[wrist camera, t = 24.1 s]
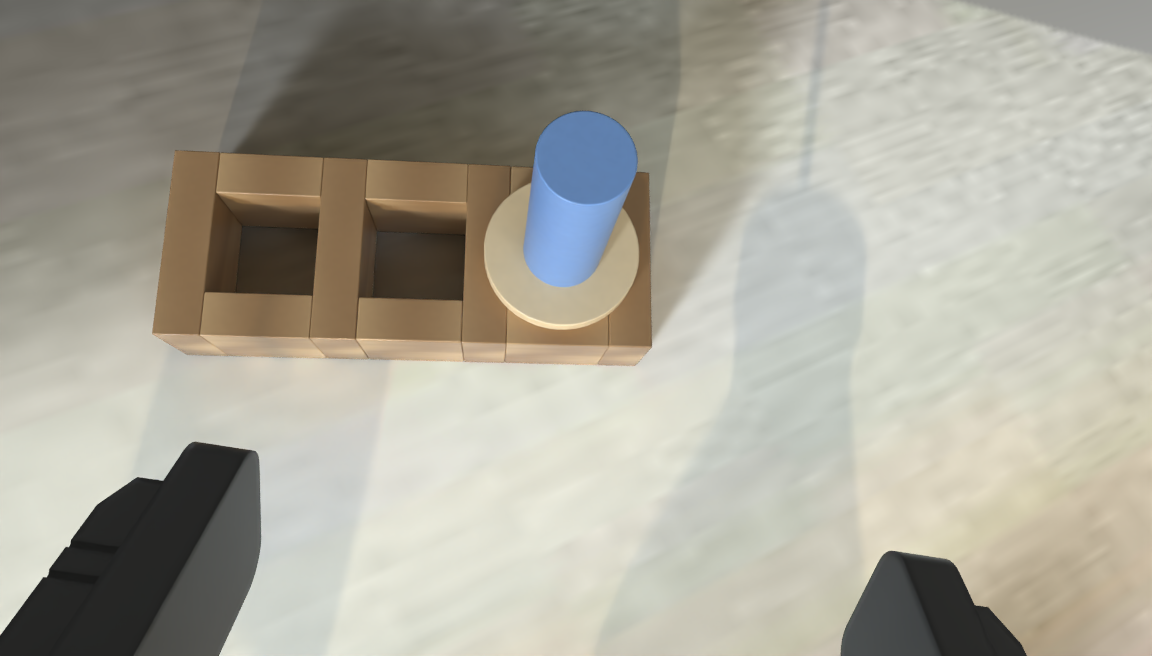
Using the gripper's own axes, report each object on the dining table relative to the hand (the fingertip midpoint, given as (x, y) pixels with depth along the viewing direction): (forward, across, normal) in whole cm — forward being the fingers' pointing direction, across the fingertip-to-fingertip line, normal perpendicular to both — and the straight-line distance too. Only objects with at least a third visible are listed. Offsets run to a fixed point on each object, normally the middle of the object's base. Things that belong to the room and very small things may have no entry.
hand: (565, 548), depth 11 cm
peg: (+27, 0, +10) cm, 28 cm away
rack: (+26, +6, +11) cm, 29 cm away
